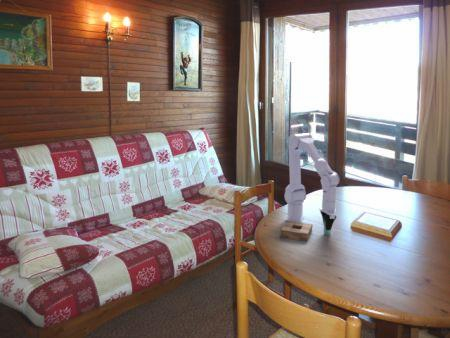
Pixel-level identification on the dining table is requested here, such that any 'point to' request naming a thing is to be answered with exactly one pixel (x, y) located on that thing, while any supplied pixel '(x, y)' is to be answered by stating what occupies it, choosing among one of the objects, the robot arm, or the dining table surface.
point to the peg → (326, 232)
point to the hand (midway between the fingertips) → (327, 228)
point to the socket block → (296, 231)
